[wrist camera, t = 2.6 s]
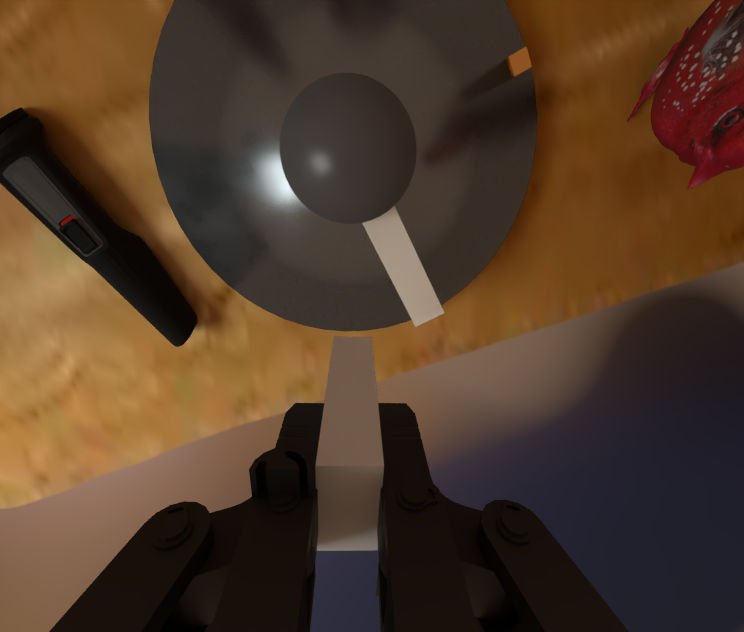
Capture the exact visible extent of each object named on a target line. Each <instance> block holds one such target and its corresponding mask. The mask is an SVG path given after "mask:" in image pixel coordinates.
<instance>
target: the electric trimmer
mask: <svg viewBox="0 0 744 632" xmlns="http://www.w3.org/2000/svg"><path fill="white" fill-rule="evenodd" d="M27 116H28V114H27V113H26V112H25V111H24V110H23V109H22V108H19V109H17V110H14V111H12V112H10V113H9V114H7V115H5V116H4V117H2V118H1V119H0V183H1V184H2V185H3V186H4V187H5V188H6V189H7V190H8V191H9V192H10V193H11V194H12V195H13V196H14V197H16V198H17V199H18V200H19V201H20V202H21V203H22V204H23V205H24V206H25V207H26V208H27V209H28V210H29V211H30V212H31V213H32V214H34V215H35V216H36V217H37V218H38V219H39V220H40V221H41V222H42V223H43V224H44V225H45V226H46V227H47V228H48V229H49V230H50V231H52V232H53V233H54V234H55V235H56V236H57V237H58V238H59V239H60V240H61V241H62V242H63V243H64V244H65V245H66V246H67V247H69V248H70V249H71V250H72V251H73V252H74V253H75V254H76V255H77V256H79V257H80V258H81V259H82V260H83V261H85V262H86V263H87V264H89V265H90V266H91V267H92V268H94V269H95V270H96V271H97V272H98V273H99V274H100V275H101V276H102V277H103V278H104V279H105V280H106V281H107V282H108V283H109V284H110V285H111V286H112V287H113V288H114V289H115V290H117V291H118V292H119V293H120V294H121V295H122V296H123V297H124V298H125V299H126V300H127V301H128V302H129V303H130V304H131V305H132V306H133V307H134V308H135V309H136V310H137V311H138V312H139V313H140V314H141V315H143V316H144V317H145V318H146V319H147V320H148V321H149V322H150V323H151V324H152V325H153V326H154V327H155V328H156V329H157V330H158V331H159V332H160V333H161V334H162V335H163V336H164V337H165V338H166V339H168V340H169V341H170V342H171V343H172V344H173V345H174V346H177V347H178V346H181V345H183V344H184V343H185V342H186V341H187V340H188V338H189V337H190V335H191V334H192V332H193V330H194V328H195V326H196V324H197V316H196V314H195V312H194V311H193V309H192V308H191V306H190V305H189V304H188V302H187V301H186V299H185V298H184V296H183V295H182V294H181V292H180V291H179V289H178V288H177V286H176V285H175V284H174V282H173V281H172V279H171V278H170V276H169V275H168V274H167V272H166V271H165V269H164V268H163V266H162V265H161V264H160V262H159V261H158V259H157V258H156V257H155V255H154V254H153V253H152V251H151V250H150V249H149V247H148V246H147V245H146V243H145V242H144V241H143V240H142V239H141V238H140V237H139V236H137V235H135V234H132V233H130V232H128V231H126V230H124V229H122V228H121V227H119V226H118V225H117V224H116V223H115V222H114V221H113V220H112V219H111V218H110V217H109V215H108V214H107V213H106V212H105V211H104V210H103V209H102V207H101V206H100V205H99V204H98V203H97V202H96V201H95V200H94V198H93V197H92V196H91V195H90V194H89V193H88V192H87V191H86V189H85V188H84V187H83V186H82V185H81V184H80V183H79V181H78V180H77V179H76V178H75V177H74V176H73V175H72V174H71V172H70V171H69V170H68V169H67V168H66V167H65V166H64V164H63V163H62V162H61V161H60V160H59V159H58V158H57V157H56V155H55V154H54V153H53V152H52V151H51V150H50V149H49V148H48V146H47V145H46V144H45V143H44V141H43V140H42V138H41V127H42V126H43V125H42V123H41V122H40V121H39V119H38V118H33V117H27Z"/></svg>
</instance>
